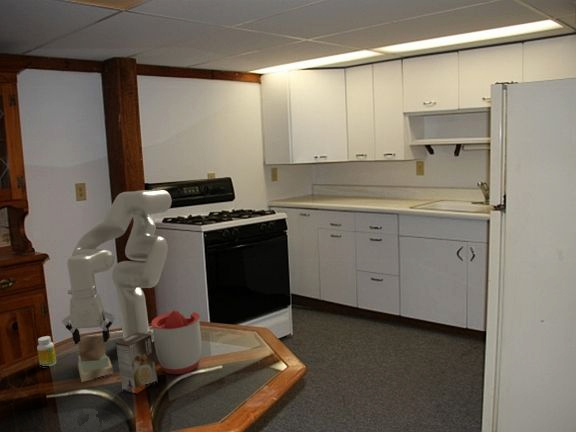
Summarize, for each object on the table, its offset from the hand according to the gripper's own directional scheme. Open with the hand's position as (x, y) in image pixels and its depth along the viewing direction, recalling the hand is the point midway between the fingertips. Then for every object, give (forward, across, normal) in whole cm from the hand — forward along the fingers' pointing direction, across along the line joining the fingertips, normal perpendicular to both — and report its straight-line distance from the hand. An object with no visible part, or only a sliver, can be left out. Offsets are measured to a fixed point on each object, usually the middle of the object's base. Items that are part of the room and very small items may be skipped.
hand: (92, 341), depth 181 cm
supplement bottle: (+11, -20, +8) cm, 25 cm away
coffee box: (+11, +18, -12) cm, 25 cm away
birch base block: (+11, 0, 0) cm, 11 cm away
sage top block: (+8, 0, 0) cm, 8 cm away
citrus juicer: (+11, +29, 0) cm, 31 cm away
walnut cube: (+5, 0, 0) cm, 5 cm away
